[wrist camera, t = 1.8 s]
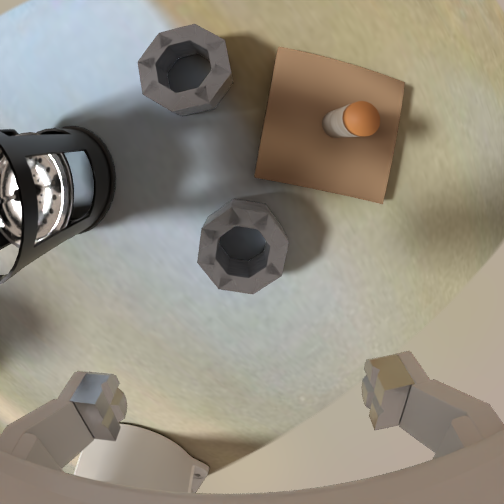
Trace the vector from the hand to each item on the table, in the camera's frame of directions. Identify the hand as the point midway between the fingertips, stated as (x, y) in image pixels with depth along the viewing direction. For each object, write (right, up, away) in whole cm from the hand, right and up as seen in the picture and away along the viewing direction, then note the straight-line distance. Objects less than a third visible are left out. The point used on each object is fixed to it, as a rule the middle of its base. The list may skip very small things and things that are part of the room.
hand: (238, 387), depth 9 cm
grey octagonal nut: (0, +5, +16) cm, 17 cm away
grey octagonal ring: (-4, +18, +12) cm, 22 cm away
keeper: (+6, +14, +13) cm, 20 cm away
